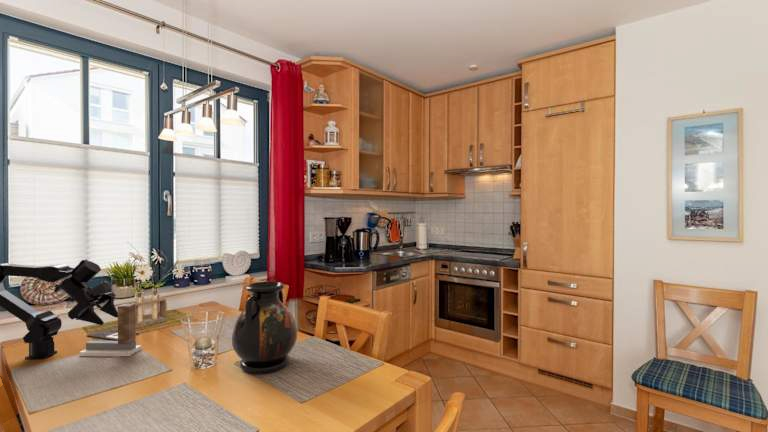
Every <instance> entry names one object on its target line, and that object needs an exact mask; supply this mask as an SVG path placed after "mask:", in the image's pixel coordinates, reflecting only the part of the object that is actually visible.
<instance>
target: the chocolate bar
mask: <svg viewBox="0 0 768 432" xmlns="http://www.w3.org/2000/svg"><path fill="white" fill-rule="evenodd" d="M139 334H140V333H139V332H136V336H138V335H139ZM87 337H88V338H93V339H100V340H105V341H118V329H111V328H106V329H104V330H100V331H96V332H94V333H93V332H92V333H90V334H87V335H86V338H87Z"/></svg>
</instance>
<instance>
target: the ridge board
mask: <svg viewBox="0 0 768 432" xmlns="http://www.w3.org/2000/svg"><path fill="white" fill-rule="evenodd" d="M141 350H142V344H141V345H137V340H135V341H133V342H132V343H130V344H118V341H112V340H89V341H87V342H85V349H82V350H81V351H79V357H120V356H129V357H130V356H132V355H134V354H135V352H136V353H137V352H139V351H141ZM133 353H134V354H133ZM131 354H132V355H131Z"/></svg>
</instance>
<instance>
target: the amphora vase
mask: <svg viewBox="0 0 768 432" xmlns="http://www.w3.org/2000/svg"><path fill="white" fill-rule="evenodd" d="M284 288H285V284H284V283H282V282H279V281H258V282H253V283H249V284H247V285H246V286H245V290H246V291H247V292H250V293H251V296H250V297H248V298H247V299H246V302H245V307H244V308H243V309H244V310H242V312H241V313H240V314H239V315H238V317H237V319H236V321H235V324H234V326H233V329H232V330H233V331H232V336H231V345H232V349H233V351H234V352H235V354H236V355H237V356H238V358H240V359H241V360H240V363H239V367H240V368H241V369H242V371H244V372H245V373H250V374H256V375H257V374H260V375H261V374H268V373H269V374H270V373H274V372H276V371H279V370H282V369H283V368H285V367H286V366H287V365H288V364H289V363H290V360H291V358H290V355H289V354H290V353H291V352H292V350H293V348H294V347H295V345H296V343H297V339H298V329H297V323H296V321H295V317H294V316H293V314H292V312H291V310H290V309H289V308H288V307H287V306H286V305H285V304H284V294H283V289H284Z"/></svg>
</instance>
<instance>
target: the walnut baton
mask: <svg viewBox="0 0 768 432" xmlns="http://www.w3.org/2000/svg"><path fill="white" fill-rule="evenodd" d="M117 312H118V317H117V330H118V344H130V343H132V342H133V341H137V340H136V339H137V338H136V336H137V335H136V333H137V332H136V331H137V330H136V303H135V302H134V303H123V304H120V305H118V306H117Z"/></svg>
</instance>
